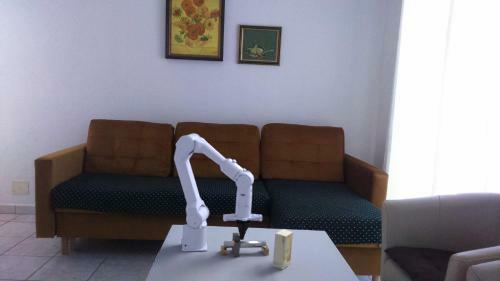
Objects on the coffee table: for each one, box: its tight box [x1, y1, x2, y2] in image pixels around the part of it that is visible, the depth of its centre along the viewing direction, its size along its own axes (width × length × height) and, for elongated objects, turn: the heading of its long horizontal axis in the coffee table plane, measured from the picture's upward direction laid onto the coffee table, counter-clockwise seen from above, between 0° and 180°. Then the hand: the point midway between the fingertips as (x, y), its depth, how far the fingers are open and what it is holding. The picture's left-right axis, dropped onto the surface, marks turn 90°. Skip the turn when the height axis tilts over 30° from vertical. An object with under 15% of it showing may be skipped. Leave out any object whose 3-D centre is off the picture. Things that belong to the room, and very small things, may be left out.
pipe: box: [220, 240, 270, 257], centre depth 133 cm, size 18×4×5 cm, turn 100°
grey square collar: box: [231, 232, 241, 258], centre depth 132 cm, size 2×6×7 cm, turn 10°
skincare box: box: [272, 228, 294, 270], centre depth 125 cm, size 6×4×12 cm
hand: (241, 238), depth 132 cm, fingers closed
